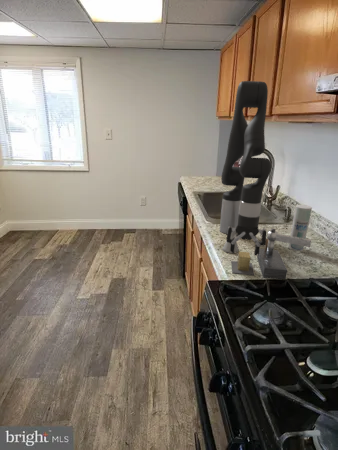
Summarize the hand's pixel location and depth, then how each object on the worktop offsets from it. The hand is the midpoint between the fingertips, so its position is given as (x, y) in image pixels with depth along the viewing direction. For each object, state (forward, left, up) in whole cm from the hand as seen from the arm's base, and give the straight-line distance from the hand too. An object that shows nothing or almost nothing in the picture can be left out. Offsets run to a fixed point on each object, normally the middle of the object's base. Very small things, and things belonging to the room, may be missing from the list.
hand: (243, 253), depth 115 cm
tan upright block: (0, 0, -6) cm, 6 cm away
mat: (0, 0, -6) cm, 6 cm away
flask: (-17, -4, -7) cm, 18 cm away
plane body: (-3, +11, -6) cm, 13 cm away
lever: (-6, +17, +4) cm, 18 cm away
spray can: (-26, +26, -6) cm, 37 cm away
